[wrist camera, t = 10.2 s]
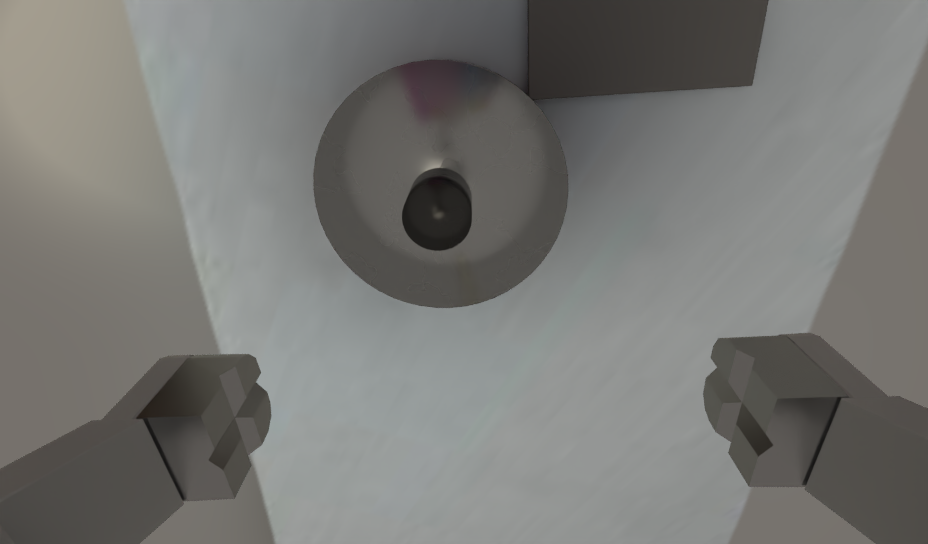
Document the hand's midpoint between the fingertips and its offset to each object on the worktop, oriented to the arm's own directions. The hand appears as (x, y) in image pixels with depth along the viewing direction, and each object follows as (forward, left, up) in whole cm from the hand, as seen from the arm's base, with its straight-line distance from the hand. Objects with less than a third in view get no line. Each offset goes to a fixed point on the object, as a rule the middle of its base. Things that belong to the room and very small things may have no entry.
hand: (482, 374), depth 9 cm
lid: (+2, -2, -17) cm, 18 cm away
